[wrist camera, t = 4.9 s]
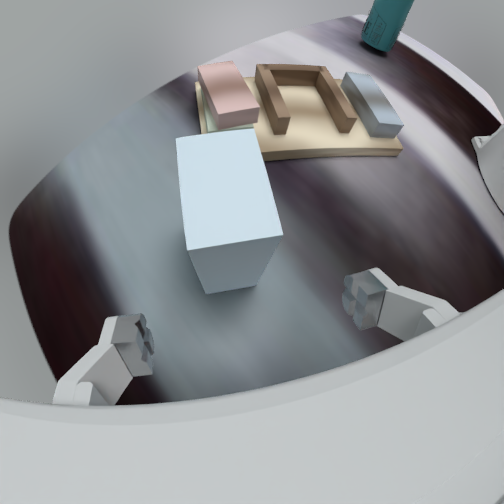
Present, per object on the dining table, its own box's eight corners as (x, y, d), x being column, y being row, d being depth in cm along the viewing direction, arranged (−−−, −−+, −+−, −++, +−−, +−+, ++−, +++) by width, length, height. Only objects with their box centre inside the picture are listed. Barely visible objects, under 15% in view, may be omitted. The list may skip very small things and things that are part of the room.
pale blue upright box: (195, 224, 23) (176, 138, 13) (241, 217, 24) (254, 128, 13) (206, 294, 21) (186, 250, 11) (256, 285, 22) (283, 234, 12)
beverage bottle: (394, 60, 37) (433, -16, 18) (367, 54, 36) (404, -30, 17) (377, 42, 39) (409, -29, 20) (350, 37, 38) (380, -42, 19)
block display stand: (195, 91, 28) (193, 55, 23) (358, 89, 32) (372, 61, 26) (206, 168, 25) (203, 129, 20) (397, 155, 28) (420, 127, 23)
